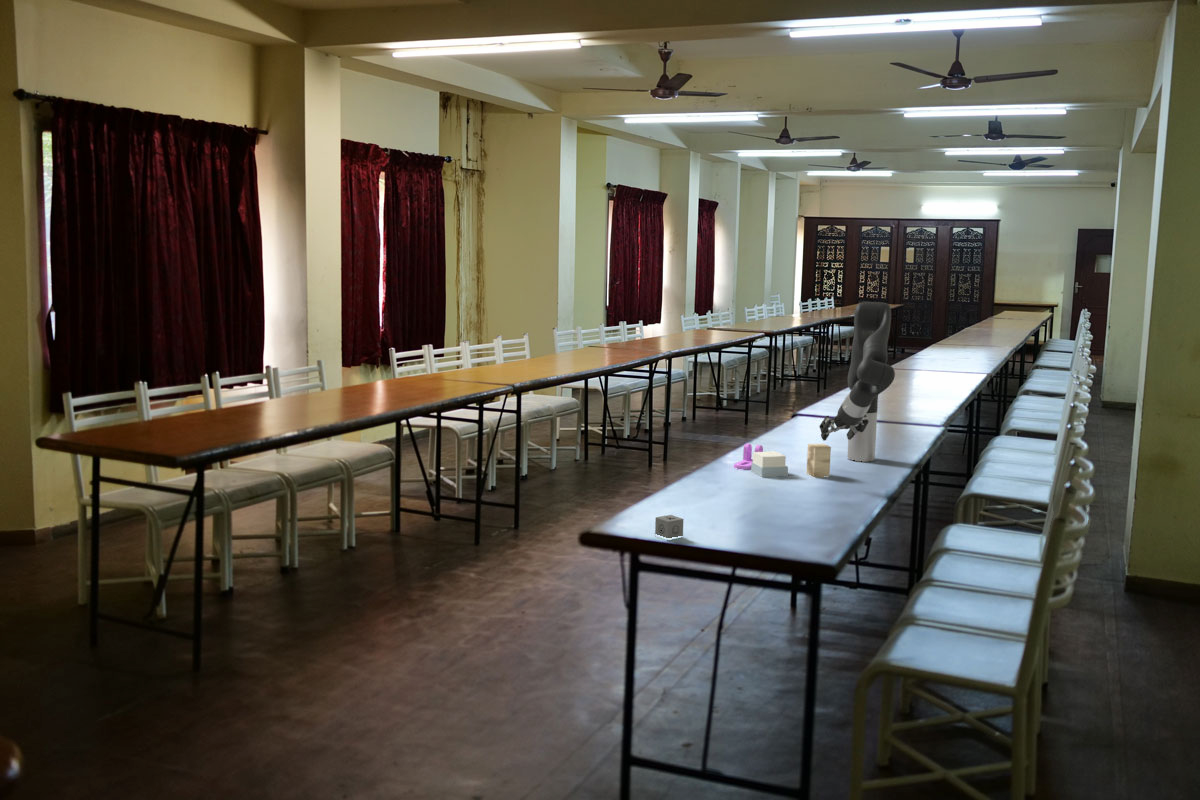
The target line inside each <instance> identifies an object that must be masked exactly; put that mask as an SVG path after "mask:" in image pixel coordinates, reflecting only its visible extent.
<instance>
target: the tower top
mask: <svg viewBox="0 0 1200 800" xmlns="http://www.w3.org/2000/svg"><path fill="white" fill-rule="evenodd" d="M786 457H787V456H786V455H784V454H783V453H780V452H778V451H775V450H774V451H763V452H755V451H753V452H752V459H753V463H754V464H756V465H758V466H760V467H762V468H764V467H785V466H786V461H787V460H786V459H787V458H786Z"/></svg>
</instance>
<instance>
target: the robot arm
mask: <svg viewBox="0 0 1200 800" xmlns="http://www.w3.org/2000/svg"><path fill="white" fill-rule="evenodd" d="M853 316H854V317H853V318H854V319H853V325H854V326H853V327H854V328H853V329H854V330H853V331H854V332H853V339H852V344H851V345H852V346H851V354H850V355H851V356H850V358H851V359H850V364H849V369H848V374H847V385H848V387H847V388H848V389H849V390H850V391H849V393H848V394H847V395H846V397H845V399H844V400H843V402H842V403H841V405H840V407H839V408H838V409H837V414H836V416H834V417H830V416H829V415H826V416H825V417H824V419H823V420H822V421H821V423H820V425H819V426H818V427H819V430H820V432H821V433H820V438H821V440H822V441H827V439H828V438H829V436H830V434H831V433H833V432H834V433H836V432H838V431H840V430H848V431H847V433H846V437H847V438H846V439H847V459H848V460H850V459H851V460H850V461H853V460H855V462H861V461H862V462H863V463H864V462H869V461H870V462H874V461H875V460H876V459H875V458H876V446H877V445H876V442H877V441H876V440H877V426H878V425H877V424H878V423H877V422H878V408H879V407H878V405H879V404H878V403H879V395H880V394H882V393H883V392H884V391H885V390H887V389H888V388H889V387H890V386H891V385H892V383H893V381H894V379H895V376H896V372H895V369H894V367H893V366H892V365H890V364H887V362H888V341H889V338H890V331H891V323H892V308H891V306H890V304H889V303H886V302H879V301H878V302H876V301H875V302H874V301H862V302H858V304H856V307H855V309H854V315H853ZM829 428H830V429H829Z"/></svg>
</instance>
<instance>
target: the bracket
mask: <svg viewBox="0 0 1200 800" xmlns="http://www.w3.org/2000/svg"><path fill="white" fill-rule="evenodd" d="M752 449H753V446H752V444H751V443H745V444H744V446H743V454H742V455H743V457H742V460H739V461H737V462H735V463H734V464H733V468H734V469H735V468H737V469H736V470H739V469H748V470H751V464H752V462H753V452H752V451H753V450H752ZM754 452H764V446H763V445H762V444H761V445H760V444H756V445H755V448H754Z"/></svg>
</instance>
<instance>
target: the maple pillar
mask: <svg viewBox="0 0 1200 800" xmlns="http://www.w3.org/2000/svg"><path fill="white" fill-rule="evenodd" d="M831 451H832V446H830V445H827V444H826V443H808V444H807V457H806V458H807V459H806V475H807V474H809V475H811V476H813V477H818V478H825V477H824V476H829V477H830V475H831V474H830V473H831V470H830V469H831V455H832V454H831ZM809 475H808V476H809ZM811 476H810V477H811ZM813 477H812V478H813Z"/></svg>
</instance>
